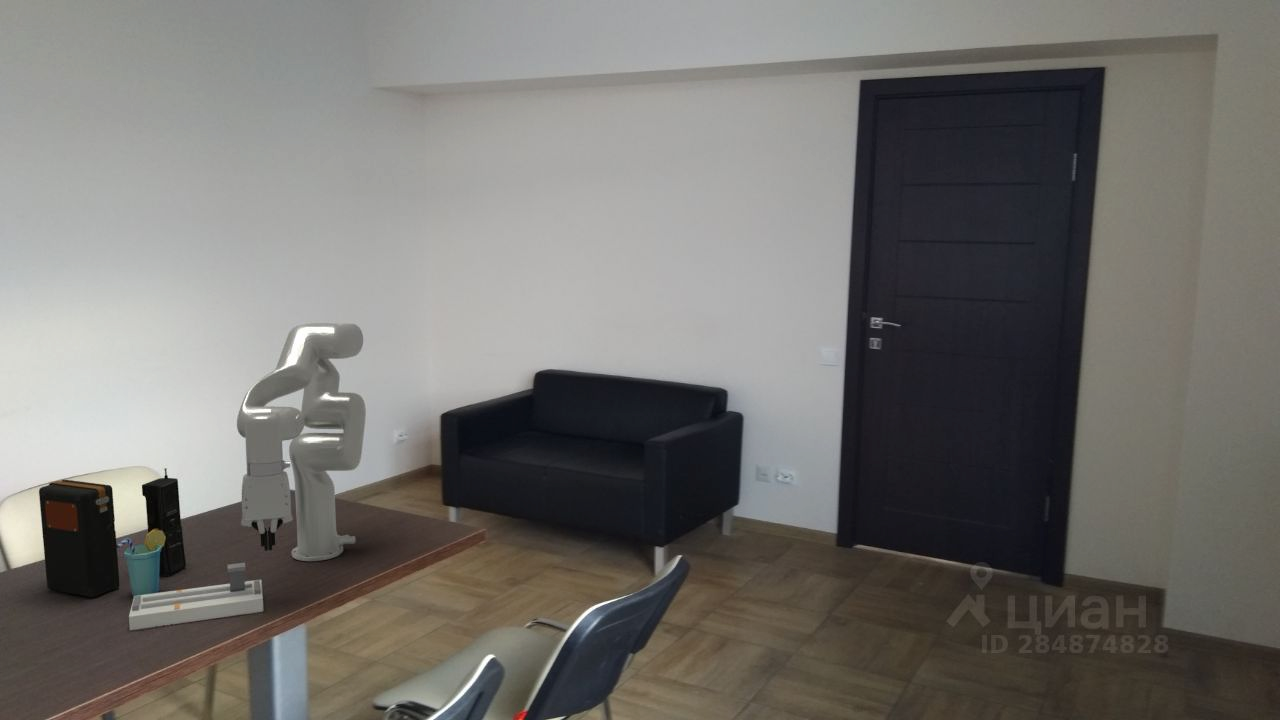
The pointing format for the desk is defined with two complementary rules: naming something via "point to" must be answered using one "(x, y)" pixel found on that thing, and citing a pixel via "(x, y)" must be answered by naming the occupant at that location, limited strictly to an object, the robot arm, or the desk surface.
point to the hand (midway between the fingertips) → (268, 548)
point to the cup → (144, 563)
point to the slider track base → (194, 605)
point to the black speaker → (79, 537)
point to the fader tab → (236, 576)
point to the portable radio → (166, 521)
